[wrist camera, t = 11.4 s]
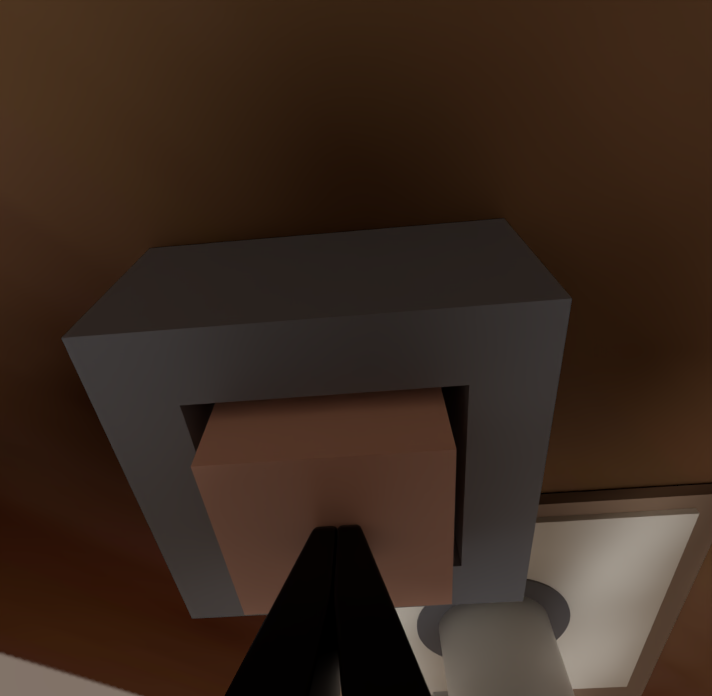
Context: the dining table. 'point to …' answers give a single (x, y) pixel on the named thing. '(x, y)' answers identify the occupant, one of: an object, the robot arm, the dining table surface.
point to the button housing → (334, 372)
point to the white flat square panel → (600, 583)
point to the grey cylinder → (502, 651)
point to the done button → (332, 487)
